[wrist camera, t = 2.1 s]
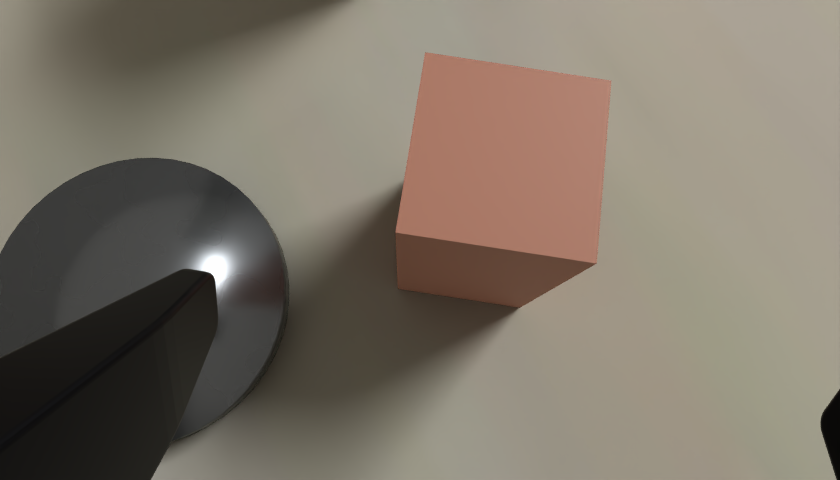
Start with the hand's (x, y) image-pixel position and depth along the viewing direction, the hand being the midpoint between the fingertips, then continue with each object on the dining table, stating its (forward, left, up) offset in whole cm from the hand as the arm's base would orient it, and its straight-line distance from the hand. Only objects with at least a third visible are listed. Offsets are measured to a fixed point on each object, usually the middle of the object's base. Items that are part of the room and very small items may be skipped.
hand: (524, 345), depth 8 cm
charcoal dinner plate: (+1, +11, -13) cm, 17 cm away
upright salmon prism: (+5, 0, -13) cm, 13 cm away
